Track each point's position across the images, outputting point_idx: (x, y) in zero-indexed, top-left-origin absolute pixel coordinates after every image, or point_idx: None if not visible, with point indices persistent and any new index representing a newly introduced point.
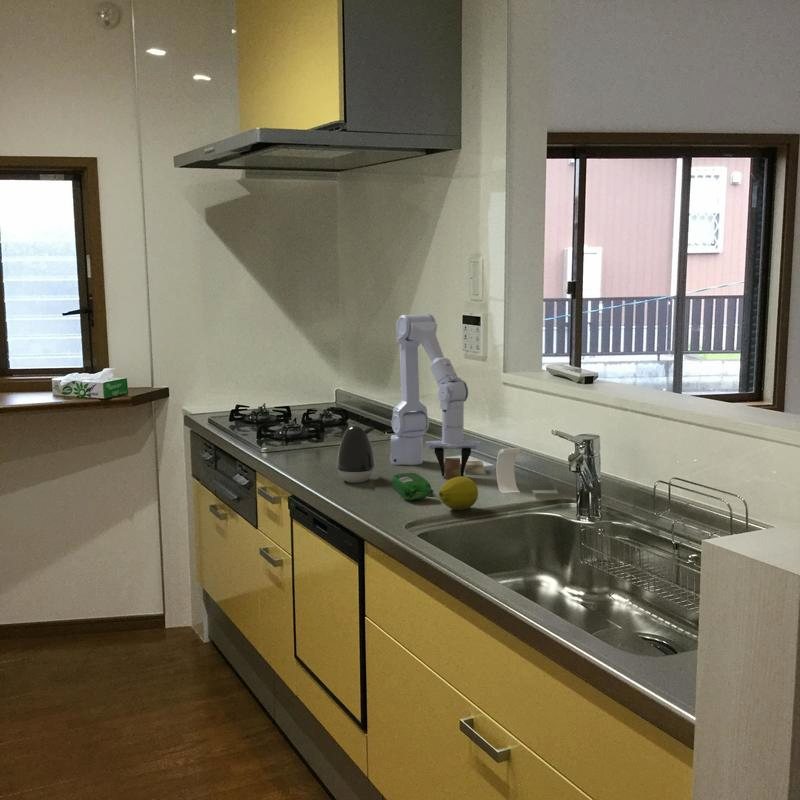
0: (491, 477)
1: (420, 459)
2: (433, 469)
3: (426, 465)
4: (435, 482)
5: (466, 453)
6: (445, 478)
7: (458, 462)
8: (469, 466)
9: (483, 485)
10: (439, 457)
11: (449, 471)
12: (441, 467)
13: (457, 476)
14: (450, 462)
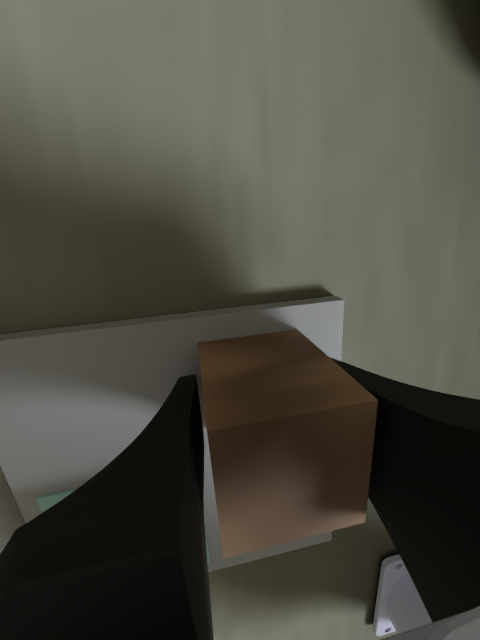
0: (10, 491)
1: (413, 610)
2: (341, 549)
3: (365, 593)
4: (345, 310)
5: (72, 531)
6: (297, 332)
7: (226, 417)
8: None
9: (4, 268)
10: (477, 407)
11: (288, 354)
12: (365, 374)
13: (218, 347)
14: (313, 401)
